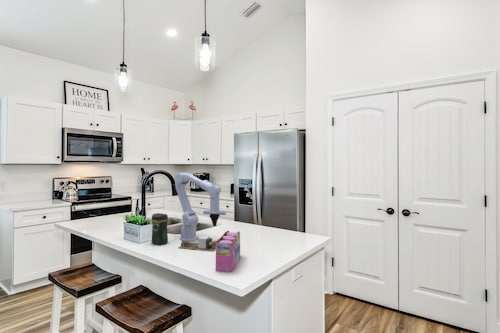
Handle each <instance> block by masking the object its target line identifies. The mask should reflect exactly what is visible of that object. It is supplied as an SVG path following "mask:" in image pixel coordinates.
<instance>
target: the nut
mask: <svg viewBox="0 0 500 333" xmlns="http://www.w3.org/2000/svg"><path fill="white" fill-rule="evenodd" d="M209 242H213V238H211V237H209V239H207V240H206V249H209V248H210V247H212V246H209Z"/></svg>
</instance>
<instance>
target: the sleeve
mask: <svg viewBox="0 0 500 333" xmlns="http://www.w3.org/2000/svg"><path fill="white" fill-rule="evenodd" d="M209 238H210V236H207V235H204V236H203V235H201V236H198V238H197V241H198V248H203V249H206V240H207V239H209Z"/></svg>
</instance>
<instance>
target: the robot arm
mask: <svg viewBox="0 0 500 333" xmlns="http://www.w3.org/2000/svg"><path fill="white" fill-rule="evenodd" d="M174 181H175V191H176V193H177V197H178V199H179V201H180V205H181V208H182V211H183V213H182V215H181V217H182V224H183V225H181V228H180V241H182V240H188V241H196V240H198V238H199V236H197V223H199V217H198V215H197V213H196V212H195V211H194V210H193V209H192V206H191V203H190V200H189V198H188V194H187V191H186V188H185V187H186V185H187V184H189V182H192V183H194V184H196V185H198V186H200V187H199V188H201V189H202V190H204V191H206V192H208V193H209V198H210V200H209V210H203V212H202V214H203V215H209V219H210V220H211V224H212V226H213V227H216V226H217V223H218V220H219V217H220V216H226V215H227V212H226V211H220V193H221V192H222V188H221V186H220V185H219V184H215V183H211V182H210V181H209V180H208V179H204V180H202V179H200V178H199V177H197V176H195V175H193V174H192V173H190V172H178V173H176V175H174Z"/></svg>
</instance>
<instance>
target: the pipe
mask: <svg viewBox="0 0 500 333" xmlns="http://www.w3.org/2000/svg"><path fill="white" fill-rule="evenodd" d="M181 242H182V243H185V244H190V245H198V240H194V241H190V240H181ZM212 242H213V241H212ZM212 242H209V246H212Z"/></svg>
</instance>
